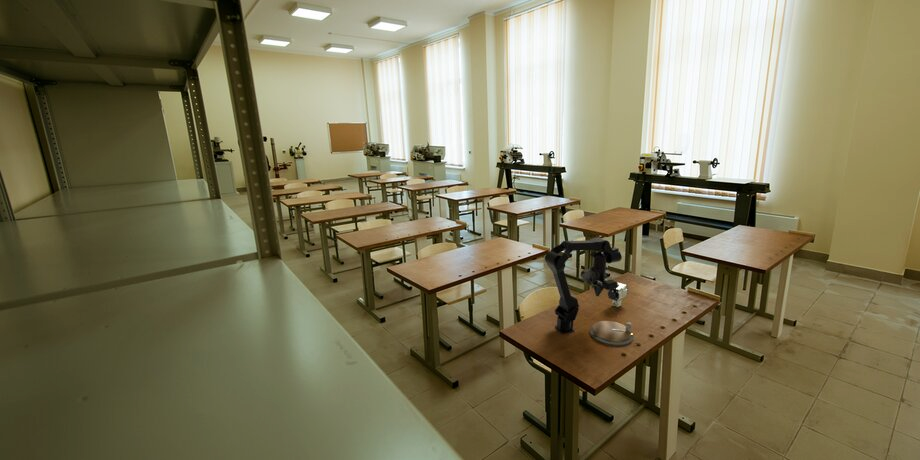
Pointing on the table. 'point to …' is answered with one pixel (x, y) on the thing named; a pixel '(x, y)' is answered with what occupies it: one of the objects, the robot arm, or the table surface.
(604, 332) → the dial
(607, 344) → the dial housing
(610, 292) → the pneumatic valve
